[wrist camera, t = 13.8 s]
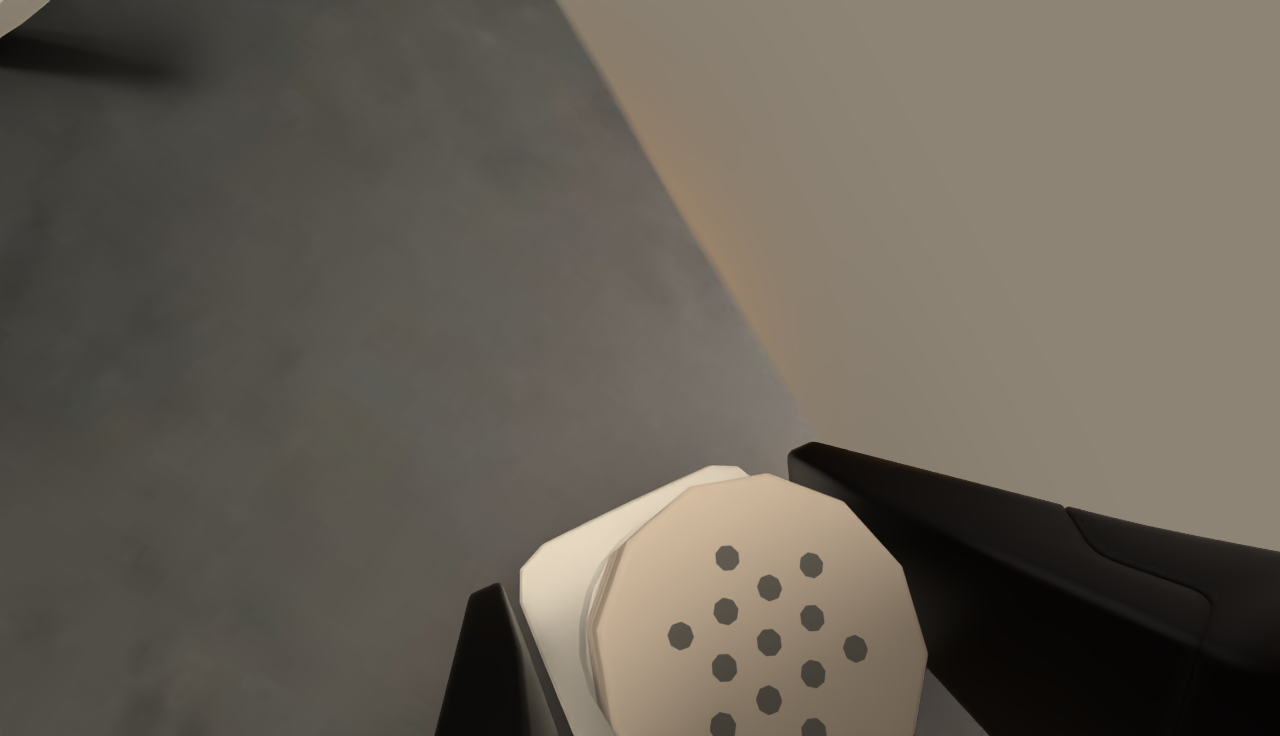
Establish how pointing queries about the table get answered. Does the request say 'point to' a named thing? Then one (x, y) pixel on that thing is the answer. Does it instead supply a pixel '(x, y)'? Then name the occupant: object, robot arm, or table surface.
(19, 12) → the cup
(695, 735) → the pepper shaker
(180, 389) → the table surface
